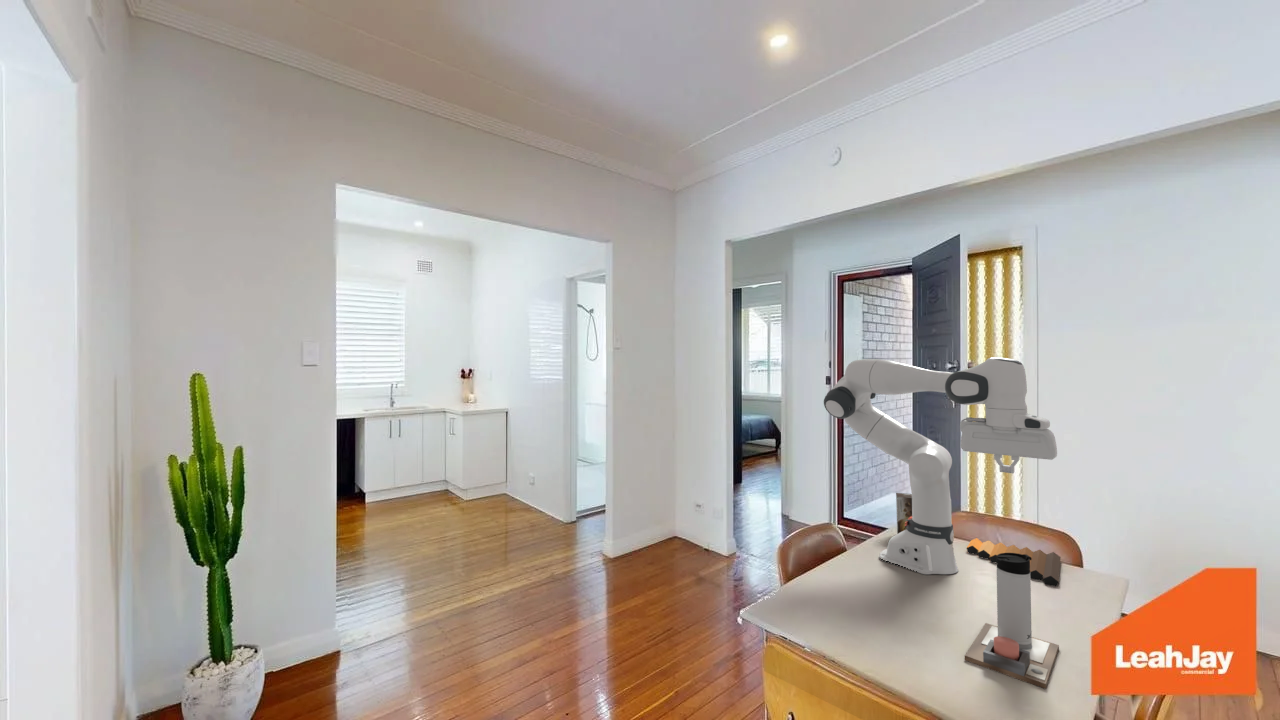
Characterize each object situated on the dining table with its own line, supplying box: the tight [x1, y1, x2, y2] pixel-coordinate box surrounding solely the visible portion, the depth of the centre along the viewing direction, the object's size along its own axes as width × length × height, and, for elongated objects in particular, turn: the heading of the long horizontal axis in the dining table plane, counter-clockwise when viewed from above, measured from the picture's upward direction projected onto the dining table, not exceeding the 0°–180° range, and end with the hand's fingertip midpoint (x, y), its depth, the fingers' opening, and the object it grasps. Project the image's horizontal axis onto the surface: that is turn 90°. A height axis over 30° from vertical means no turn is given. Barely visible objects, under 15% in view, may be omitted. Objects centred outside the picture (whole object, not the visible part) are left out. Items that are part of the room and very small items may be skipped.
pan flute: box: [966, 537, 1061, 587], centre depth 164 cm, size 25×3×25 cm
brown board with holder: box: [964, 622, 1060, 690], centre depth 112 cm, size 14×20×3 cm
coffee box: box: [895, 492, 912, 535], centre depth 189 cm, size 9×6×16 cm
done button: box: [994, 636, 1019, 661], centre depth 107 cm, size 4×4×4 cm
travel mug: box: [996, 553, 1033, 649], centre depth 115 cm, size 6×7×20 cm
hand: (1006, 472), depth 130 cm, fingers closed
